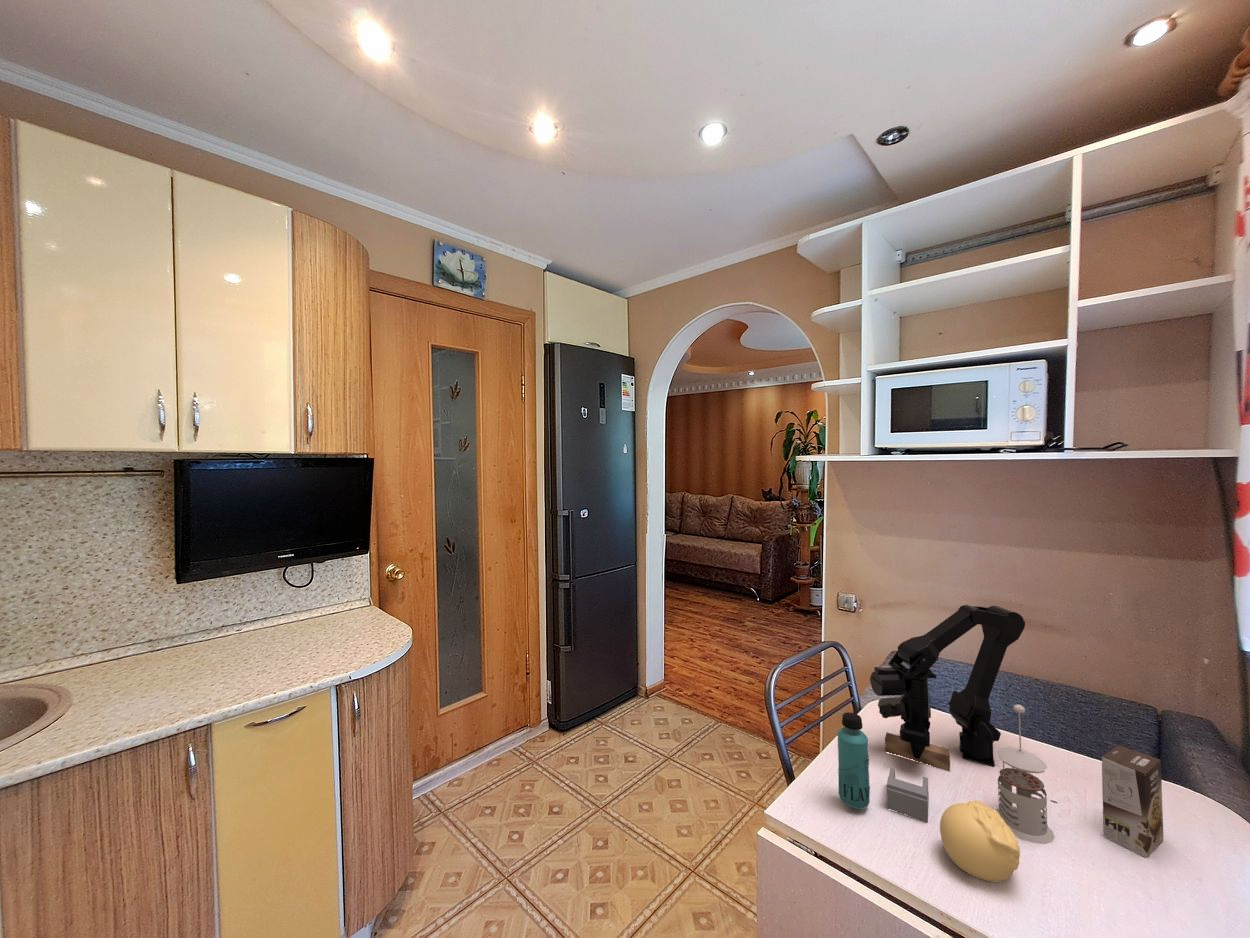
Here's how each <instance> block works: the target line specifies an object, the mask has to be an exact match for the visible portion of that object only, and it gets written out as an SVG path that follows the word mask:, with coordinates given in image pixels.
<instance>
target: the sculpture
mask: <svg viewBox="0 0 1250 938" xmlns="http://www.w3.org/2000/svg"><path fill="white" fill-rule="evenodd" d="M996 810H997V809H994V808H993V807H990V806H988V805H987V804H985V803H984V802H982V801H980V800H969V802H968V803H965V802H959V803H955V804H952V805H950V806H949V807H947V808H946V809H944V812H943V813H942V815H941V818H940V822H939V823H940V824H939V833H940V838H941V841H942V842H941V843H942V844H943V847H944V849H945V851H946V853H947V855H948V857H949V858H950V859H951V861H953V863H954V864H955V865H956V866H957V867H959V868H960V869H961V870H962V871H964V872H966V874H970V875H971V876H973V877H975V878H977V879H981V880H983V881H987V882H993V883H1000V882H1001V883H1002V882H1003V881H1006V880H1008V879H1009V878H1010V877H1011V875H1012V874H1013V873H1014V872H1015V871H1017V869H1018V867H1019V865H1020V856H1021V850H1020V845H1019V841H1018V839H1017V837H1016V836H1015V834H1014V833H1013V832H1012V831H1011V829H1010V827H1009V826H1008V825H1007V824H1006V823H1005V821H1004V820H1003V819H1002V818H1001V816H1000V814H999V813H998V812H997V811H996Z"/></svg>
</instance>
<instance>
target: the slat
mask: <svg viewBox="0 0 1250 938" xmlns="http://www.w3.org/2000/svg"><path fill="white" fill-rule="evenodd" d="M884 736H885V737H884V748H885V749H884V751H886V752H889V753H892V754H896V755H900V756H903V757H906V758H909V759H913V760H915V761H918V762H922V763H924V764H923V765H925V764H928V765H931V766H930V767H932V766H933V768H935V767H936V769H938V770H942V769H943V770H942V771H947V772H951V758H950V757H951V755H950V754H951V753H950V748H947V747H944V746H939V745H936V744H932V743H930V747H925V749H924V751H923V753H922V755H921V756H920V758H919V759H916V758H914V756H913V752H912V749H911V745H910V742H906V741H902V740H901V739H900V735H899V734H894V733H891V732H888V731H886V733H885V735H884ZM918 762H917V763H918ZM928 765H927V766H928Z"/></svg>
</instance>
